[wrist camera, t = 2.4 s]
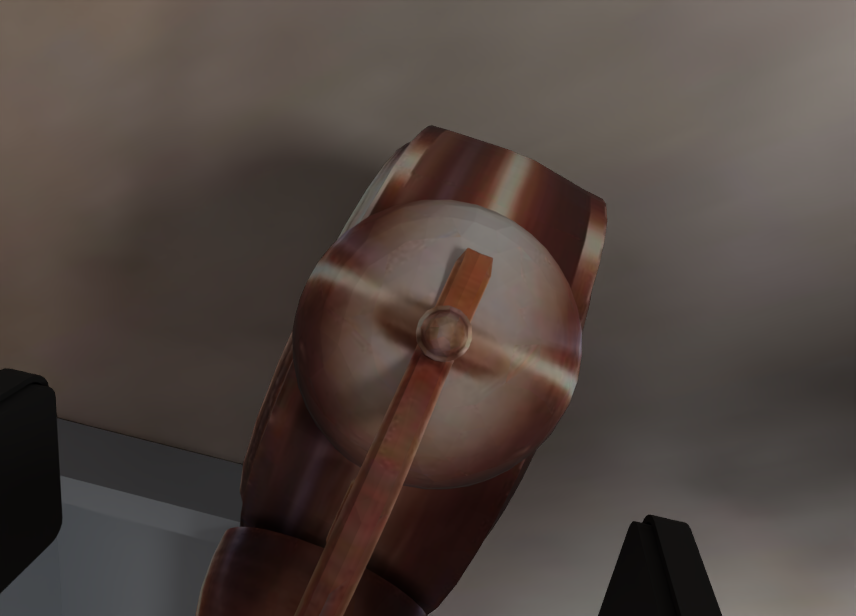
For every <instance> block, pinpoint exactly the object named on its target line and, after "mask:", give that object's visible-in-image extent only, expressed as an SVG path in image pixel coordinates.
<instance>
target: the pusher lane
mask: <svg viewBox="0 0 856 616" xmlns="http://www.w3.org/2000/svg"><path fill="white" fill-rule="evenodd" d="M57 430H58V448H59V465H60V482H61V500H62V517H63V519H62V525H61V529H60V531H59V533H58V535H57V537H56V538H55V540H54V541H53V542H52V543H51V544H50V545H49V546H48V547H47V548H46V549H45V550H44V551H43V552H42V553H41V554H40V555H39V556H38V557H37V558H36V559H35V560H34V561H33V562H32V563H31V564H30V565H29V566H28V567H27V568H26V569H25V570H24V571H23V572H22V573H21V574H20V575H19V576H18V577H17V578H16V579H15V580H14V581H13V582H12V583H11V584H10V585H9V586H8V587H7V588H6V589H5V590H4V591H3V592H1V593H0V616H195V615H196V610H197V605H198V600H199V595H200V590H201V587H202V584H203V581H204V579H205V576H206V573H207V570H208V567H209V564H210V562H211V559H212V556H213V554H214V552H215V550H216V548H217V546H218V544H219V542H220V540H221V538H222V536H223V534H224V533H225V531H226V530H228V529H230V528H234V527H240V518H241V510H242V504H243V503H242V499H241V495H240V483H241V476H242V468H243V465H242V464H238V463H234V462H230V461H226V460H222V459H218V458H214V457H210V456H206V455H202V454H198V453H194V452H190V451H186V450H182V449H178V448H174V447H170V446H166V445H162V444H158V443H154V442H150V441H146V440H142V439H138V438H134V437H130V436H126V435H122V434H118V433H114V432H110V431H106V430H102V429H98V428H94V427H90V426H86V425H82V424H78V423H74V422H70V421H66V420H62V419H58V418H57Z"/></svg>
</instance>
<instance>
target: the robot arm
mask: <svg viewBox="0 0 856 616" xmlns="http://www.w3.org/2000/svg"><path fill="white" fill-rule="evenodd" d="M62 519H63V517H62V500H61V482H60V465H59V448H58V430H57V413H56V397H55V392H54V390H53V389H52V388H50V387H49V386H48V382H47V381H46V379H45V378H44V377H42V376H40V375H36V374H31V373H27V372H22V371H18V370H14V369H2V370H0V593H1V592H3V591H4V590H5V589H6V588H7V587H8V586H9V585H10V584H11V583H12V582H13V581H14V580H15V579H16V578H17V577H18V576H19V575H20V574H21V573H22V572H23V571H24V570H25V569H26V568H27V567H28V566H29V565H30V564H31V563H32V562H33V561H34V560H35V559H36V558H37V557H38V556H39V555H40V554H41V553H42V552H43V551H44V550H45V549H46V548H47V547H48V546H49V545H50V544H51V543H52V542H53V541H54V540H55V538H56V537H57V535H58V533H59V531H60V529H61V525H62ZM598 616H722V614H721V611H720V608H719V606H718V603H717V600H716V597H715V595H714V592H713V589H712V586H711V583H710V581H709V578H708V575H707V572H706V570H705V567H704V564H703V561H702V559H701V556H700V553H699V550H698V548H697V545H696V542H695V539H694V536H693V534H692V531H691V529H690V527H689V525H688V524H686V523H684V522H680V521H676V520H671V519H667V518H662V517H658V516H654V515H647V516H646V517H645V518H644V520H643V522H642V523H640V522H636V521H633V522H632V523H631V524H630V526H629V529H628V531H627V534H626V537H625V540H624V543H623V546H622V549H621V551H620V554H619V557H618V560H617V563H616V566H615V569H614V571H613V574H612V577H611V580H610V583H609V586H608V589H607V592H606V594H605V597H604V600H603V603H602V606H601V609H600V612H599V615H598Z"/></svg>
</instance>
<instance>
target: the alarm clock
mask: <svg viewBox="0 0 856 616" xmlns="http://www.w3.org/2000/svg"><path fill="white" fill-rule="evenodd" d="M606 226H607V210H606V203H605V202H604V201H603V199H601V198H600V197H598V196H596V195H594V194H592V193H590V192H588V191H586V190H584V189H582V188H580V187H579V186H577V185H575V184H574V183H572V182H570V181H569V180H567V179H565V178H563V177H562V176H560V175H558V174H557V173H555V172H553V171H552V170H550V169H548V168H546V167H545V166H543V165H541V164H540V163H538V162H536V161H534V160H532V159H530V158H527V157H525V156H522V155H520V154H518V153H515V152H513V151H511V150H508V149H505V148H502V147H499V146H496V145H493V144H490V143H486V142H483V141H480V140H477V139H474V138H471V137H468V136H465V135H462V134H459V133H456V132H452V131H449V130H446V129H442V128H439V127H435V126H432V125H431V126H428V127H427V128H425V129H424V130H422V131H421V132H420V133H419V134H418V135H417V136H416V137H415V138H414V140H413V141H412V142H410V143H407V144H405V145H404V146H402V147H401V148H399V149H398V150H397V151H396V152H395V153H394V154H393V155H392V156H391V158H390V159H389V160H388V161H387V162H386V163H385V164H384V166H383V167H382V168H381V170H380V171H379V173H378V174H377V176H376V177H375V178H374V180H373V181H372V183H371V184H370V186H369V187H368V188H367V190H366V191H365V193H364V195H363V196H362V198H361V200H360V201H359V203H358V205H357V206H356V208H355V210H354V211H353V213H352V215H351V216H350V218H349V219H348V221H347V223H346V224H345V226H344V228H343V230H342V232H341V234H340V235H339V237H338V239H337V241H336V242H335V243H334V244H332V245H331V247H330V248H329V249H328V250H327V252H326V253H325V254H324V255H323V257H322V258H321V259H320V260H319V261H318V263H317V265H316V267H315V268H314V270H313V272H312V274H311V275H310V277H309V279H308V281H307V283H306V285H305V288H304V290H303V293H302V295H301V297H300V301H299V304H298V308H297V312H296V316H295V321H294V326H293V330H292V332H291V335H290V337H289V339H288V341H287V344H286V346H285V348H284V350H283V353H282V355H281V357H280V360H279V362H278V364H277V367H276V370H275V372H274V375H273V377H272V380H271V383H270V385H269V388H268V390H267V393H266V396H265V398H264V401H263V403H262V406H261V409H260V411H259V414H258V416H257V419H256V423H255V426H254V429H253V433H252V436H251V439H250V442H249V446H248V449H247V452H246V456H245V459H244V462H243V468H242V476H241V483H240V495H241V499H242V503H243V504H242V510H241V518H240V527H234V528H230V529H228V530H226V531H225V533H224V534H223V536H222V538H221V540H220V542H219V544H218V546H217V548H216V550H215V552H214V554H213V556H212V559H211V562H210V564H209V567H208V570H207V573H206V576H205V579H204V581H203V584H202V587H201V590H200V595H199V600H198V605H197V610H196V615H195V616H427V615H428V614H429V613H431V612H432V611H433V610H435V609H436V608H437V607H438V606H439V605H440V604H441V602H442V601H443V600H444V599H445V598H446V596H447V595H448V594H449V593H450V592H451V590H452V589H453V588H454V587H455V585H456V584H457V582H458V581H459V579H460V578H461V576H462V575H463V573H464V572H465V570H466V569H467V567H468V565H469V564H470V562H471V561H472V559H473V558H474V556H475V555H476V553H477V552H478V550H479V548H480V546H481V544H482V543H483V541H484V539H485V538H486V537H487V535H488V534H489V533H490V531H491V530H492V529H493V527H494V526H495V524H496V522H497V521H498V519H499V518H500V516H501V515H502V513H503V511H504V510H505V508H506V507H507V505H508V503H509V501H510V499H511V498H512V496H513V494H514V492H515V491H516V489H517V487H518V485H519V483H520V482H521V480H522V478H523V476H524V474H525V472H526V470H527V468H528V466H529V464H530V462H531V460H532V458H533V456H534V453H535V451H536V449H537V448H538V447H539V446H540V445H541V444H542V443H543V442H544V441H545V440H546V439H547V438H548V437H549V436H550V435H551V433H552V432H553V430H554V428H555V427H556V425H557V423H558V422H559V420H560V419H561V417H562V415H563V414H564V412H565V411H566V409H567V407H568V406H569V403H570V401H571V398H572V395H573V392H574V389H575V386H576V383H577V381H578V376H579V369H580V363H581V357H582V331H583V328H584V324H585V320H586V316H587V312H588V308H589V304H590V298H591V292H592V288H593V284H594V281H595V278H596V274H597V271H598V268H599V263H600V259H601V254H602V250H603V245H604V240H605V233H606Z"/></svg>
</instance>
